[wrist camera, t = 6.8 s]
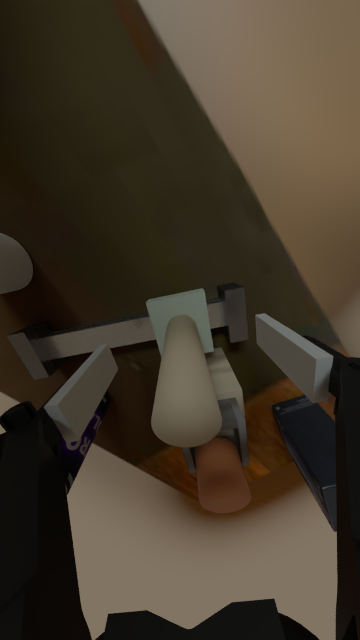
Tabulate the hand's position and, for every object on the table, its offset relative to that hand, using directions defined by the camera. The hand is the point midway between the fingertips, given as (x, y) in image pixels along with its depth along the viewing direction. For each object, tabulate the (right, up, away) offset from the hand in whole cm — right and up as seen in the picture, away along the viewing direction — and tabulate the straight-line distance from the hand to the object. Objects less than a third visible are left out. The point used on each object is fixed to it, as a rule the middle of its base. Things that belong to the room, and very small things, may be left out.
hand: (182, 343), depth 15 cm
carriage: (0, +2, +7) cm, 7 cm away
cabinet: (+3, -6, +10) cm, 12 cm away
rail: (-6, +1, +7) cm, 9 cm away
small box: (+19, -15, +13) cm, 28 cm away
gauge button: (+3, -9, 0) cm, 10 cm away
